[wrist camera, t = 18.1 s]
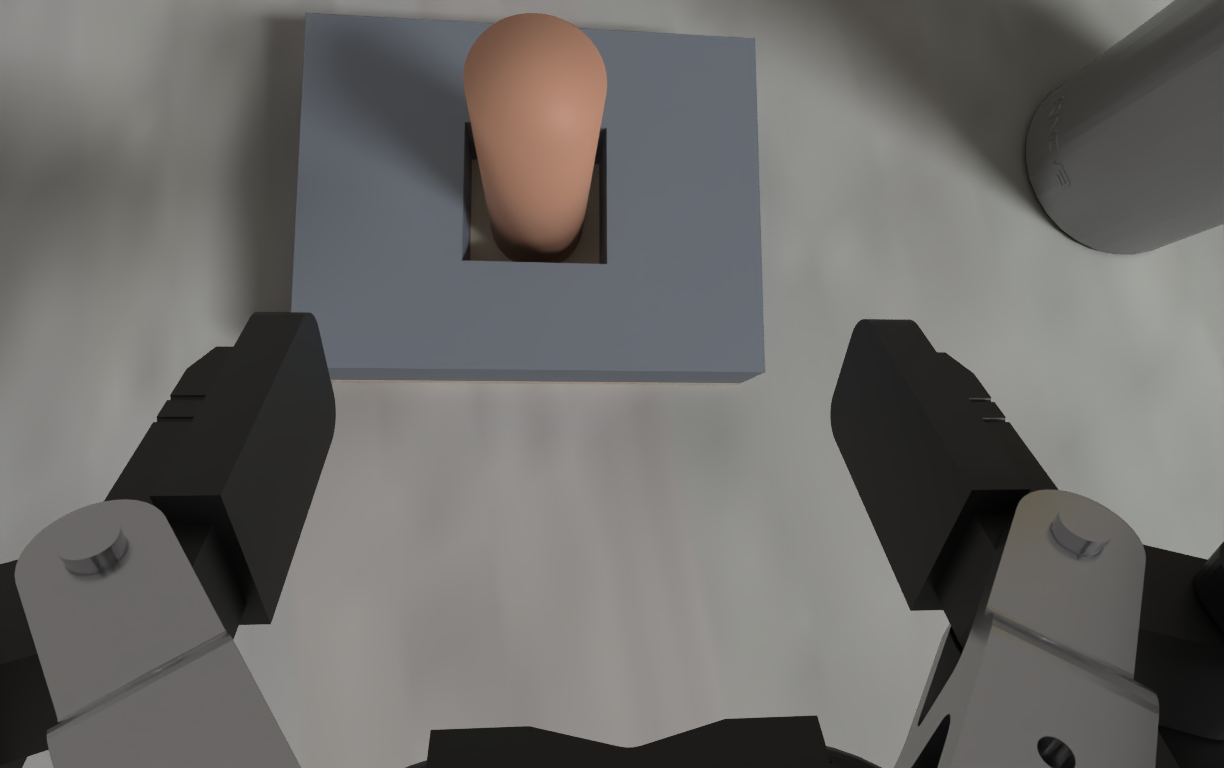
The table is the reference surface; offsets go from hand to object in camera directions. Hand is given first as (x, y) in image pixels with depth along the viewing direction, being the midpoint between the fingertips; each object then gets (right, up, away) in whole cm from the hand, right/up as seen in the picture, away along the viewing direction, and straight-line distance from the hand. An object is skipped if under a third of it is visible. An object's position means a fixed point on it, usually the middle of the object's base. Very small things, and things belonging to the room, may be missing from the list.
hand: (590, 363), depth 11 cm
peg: (-3, +7, +21) cm, 23 cm away
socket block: (-3, +7, +22) cm, 23 cm away
